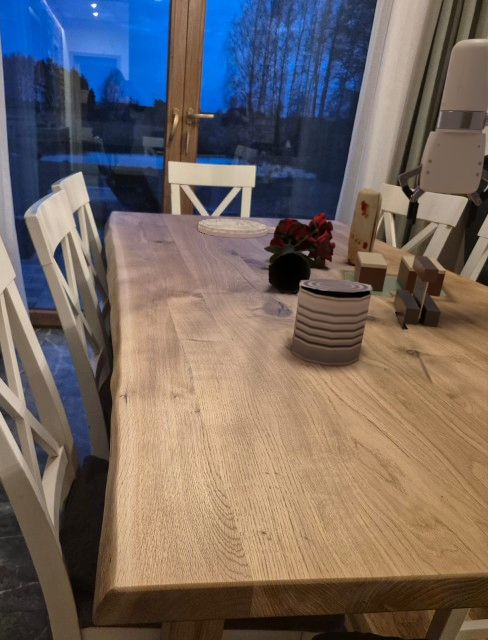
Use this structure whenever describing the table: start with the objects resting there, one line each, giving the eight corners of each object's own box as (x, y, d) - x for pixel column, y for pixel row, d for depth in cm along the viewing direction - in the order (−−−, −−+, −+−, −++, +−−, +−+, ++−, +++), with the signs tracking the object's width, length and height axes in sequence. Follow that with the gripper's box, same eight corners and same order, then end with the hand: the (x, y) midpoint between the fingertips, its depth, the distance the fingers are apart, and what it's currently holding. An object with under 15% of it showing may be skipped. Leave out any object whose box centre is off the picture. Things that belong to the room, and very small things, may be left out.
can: (290, 362, 91) (300, 288, 86) (289, 338, 101) (298, 270, 96) (364, 369, 90) (378, 294, 84) (355, 344, 100) (367, 276, 95)
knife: (402, 310, 120) (414, 255, 115) (414, 311, 120) (427, 256, 115) (411, 327, 110) (425, 268, 105) (424, 329, 109) (439, 269, 104)
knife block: (392, 307, 122) (396, 289, 120) (423, 310, 121) (427, 292, 119) (402, 328, 109) (406, 308, 107) (436, 332, 108) (441, 311, 106)
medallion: (191, 224, 203) (192, 217, 202) (264, 226, 208) (265, 219, 207) (205, 237, 182) (206, 230, 181) (286, 238, 187) (287, 231, 186)
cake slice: (376, 278, 141) (381, 253, 139) (382, 291, 130) (387, 265, 127) (353, 275, 142) (357, 251, 140) (357, 289, 131) (361, 262, 128)
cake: (428, 282, 139) (434, 258, 137) (439, 297, 128) (446, 270, 125) (396, 279, 141) (401, 255, 138) (404, 293, 129) (410, 267, 126)
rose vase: (288, 326, 131) (287, 280, 161) (361, 280, 124) (345, 240, 154) (248, 271, 126) (254, 234, 156) (321, 220, 119) (313, 191, 149)
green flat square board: (434, 283, 143) (434, 280, 142) (451, 306, 125) (452, 302, 125) (343, 275, 146) (344, 271, 146) (348, 295, 128) (348, 292, 128)
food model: (342, 261, 161) (355, 185, 152) (366, 263, 160) (380, 187, 151) (345, 269, 152) (359, 189, 143) (371, 271, 151) (387, 191, 142)
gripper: (507, 124, 101) (482, 224, 109) (405, 121, 104) (388, 219, 112) (520, 125, 95) (493, 231, 102) (411, 122, 97) (392, 225, 105)
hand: (438, 225), depth 107 cm, fingers open, 9 cm apart
